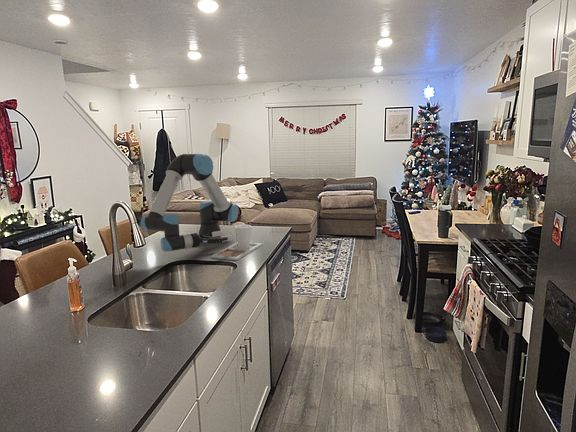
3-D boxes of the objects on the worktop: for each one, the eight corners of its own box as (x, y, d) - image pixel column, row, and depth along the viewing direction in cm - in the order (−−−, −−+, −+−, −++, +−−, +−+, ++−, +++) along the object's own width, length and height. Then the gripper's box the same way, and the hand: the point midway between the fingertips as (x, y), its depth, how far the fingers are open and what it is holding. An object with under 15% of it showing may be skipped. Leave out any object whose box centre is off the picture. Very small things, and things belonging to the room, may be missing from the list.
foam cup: (233, 249, 224) (231, 227, 221) (240, 245, 232) (239, 224, 230) (247, 250, 220) (246, 228, 218) (254, 246, 229) (253, 225, 226)
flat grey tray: (238, 243, 237) (238, 241, 236) (262, 245, 231) (262, 243, 231) (211, 257, 209) (210, 255, 208) (237, 260, 203) (236, 258, 202)
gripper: (184, 242, 219) (219, 237, 230) (199, 252, 198) (236, 246, 209) (183, 230, 218) (218, 225, 229) (198, 238, 197) (236, 232, 208)
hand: (227, 235), depth 219 cm, fingers open, 13 cm apart
